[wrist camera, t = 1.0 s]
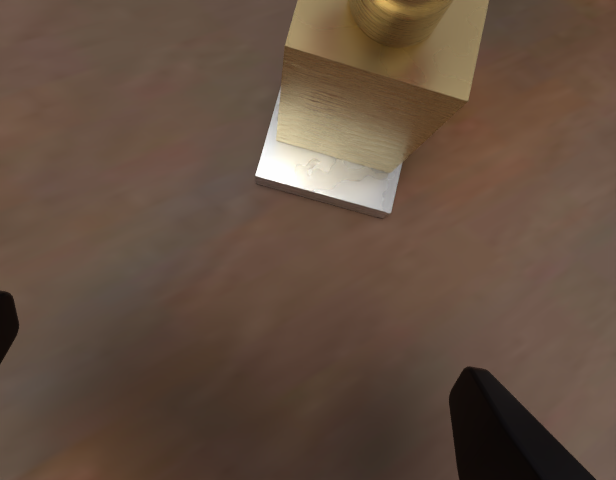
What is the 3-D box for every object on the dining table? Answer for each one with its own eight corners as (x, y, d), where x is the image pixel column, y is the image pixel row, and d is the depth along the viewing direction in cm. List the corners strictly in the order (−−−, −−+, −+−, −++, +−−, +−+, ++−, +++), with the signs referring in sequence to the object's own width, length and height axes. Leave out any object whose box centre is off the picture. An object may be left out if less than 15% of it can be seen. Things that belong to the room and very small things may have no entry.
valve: (389, 178, 21) (582, 5, 8) (274, 145, 20) (294, -90, 8) (420, 44, 22) (632, -288, 9) (312, 10, 22) (383, -386, 9)
